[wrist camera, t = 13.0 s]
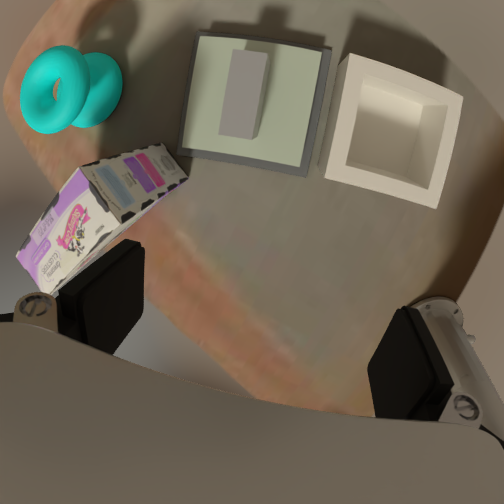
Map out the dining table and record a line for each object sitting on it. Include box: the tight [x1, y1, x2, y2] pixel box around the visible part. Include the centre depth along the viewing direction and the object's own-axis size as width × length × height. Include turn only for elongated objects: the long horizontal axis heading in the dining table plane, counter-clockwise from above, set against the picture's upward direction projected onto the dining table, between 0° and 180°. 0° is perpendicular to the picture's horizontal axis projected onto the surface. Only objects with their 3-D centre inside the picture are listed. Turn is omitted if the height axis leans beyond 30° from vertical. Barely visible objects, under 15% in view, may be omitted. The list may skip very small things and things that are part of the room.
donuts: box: [20, 45, 123, 134], centre depth 27 cm, size 10×10×10 cm
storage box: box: [318, 53, 463, 209], centre depth 27 cm, size 12×12×7 cm
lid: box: [182, 36, 322, 167], centre depth 27 cm, size 13×13×7 cm
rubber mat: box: [176, 32, 332, 178], centre depth 31 cm, size 15×15×1 cm
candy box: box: [16, 143, 188, 295], centre depth 29 cm, size 14×6×16 cm, turn 125°
